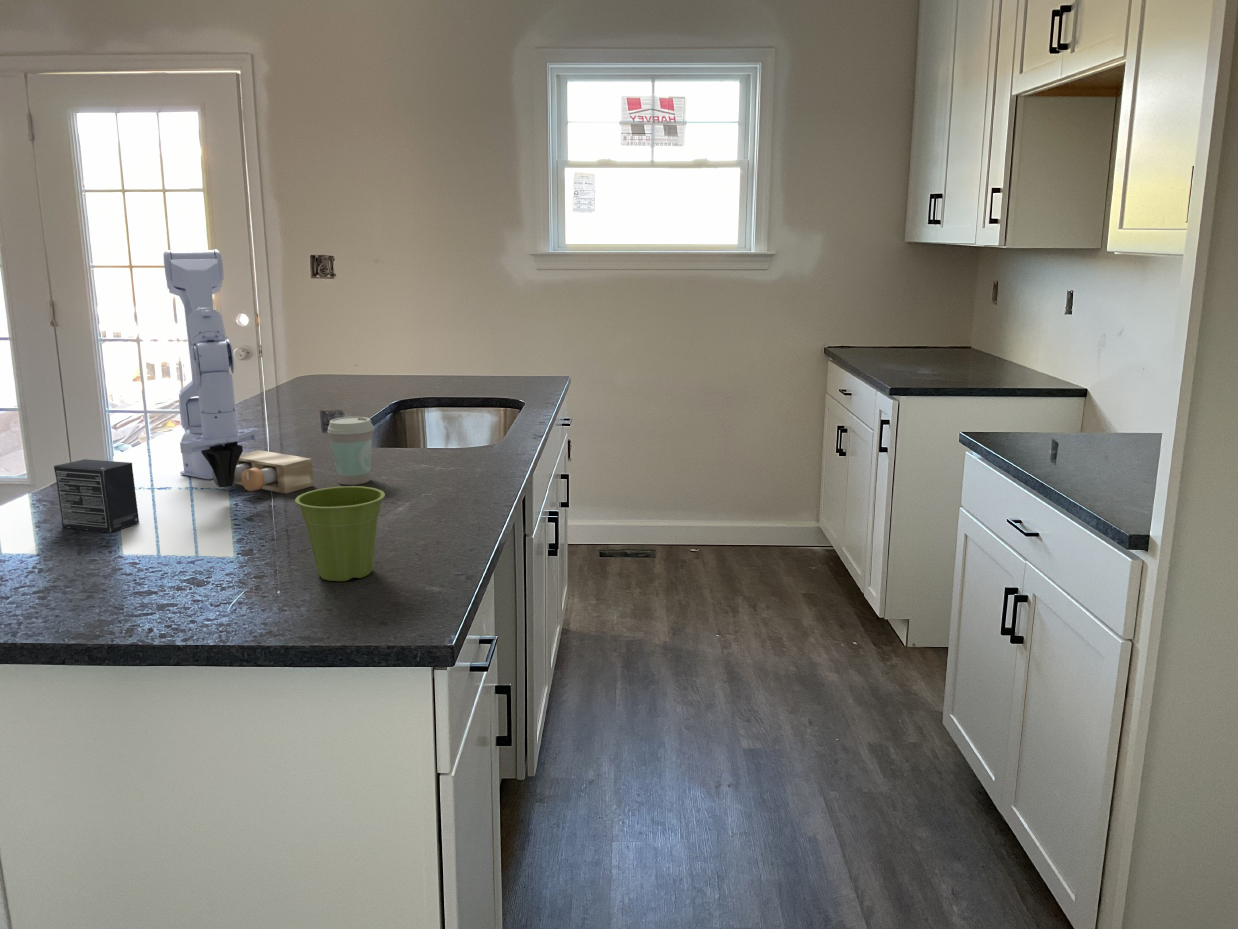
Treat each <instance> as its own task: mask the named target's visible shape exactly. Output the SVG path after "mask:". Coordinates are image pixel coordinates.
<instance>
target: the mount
mask: <svg viewBox="0 0 1238 929" xmlns="http://www.w3.org/2000/svg"><path fill="white" fill-rule="evenodd" d="M312 461H313V460H312V458H311V457H310V458H309V457H304V456H299V455H298V456H297V455H292V454H285V453H279V452H273V451H272V452H271V451H266V450H260V449H258V450H254V451H250V452H246V453H245V452H244V453H241V455H240V457H239V460H238V462H237V465H239V464H244V463H248V462H250V463H252V468H258V469H259V470H261V469H265V468H269V467H273V466H274V467H276V469H277V480H278V481H276V482H272V483H268V484H264V485H263V487H262V488H261V489H262V490H266V491H270V492H276V493H281V494H289V493H293V492H296V491H299V490H304V489H308V488H312V487H314V473H313V472H314V471H313V462H312ZM235 484H236V485H240V486H243V484H242V479H241V480H237V481H234V483H233V485H235ZM261 489H260V490H261Z"/></svg>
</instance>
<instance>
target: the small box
mask: <svg viewBox="0 0 1238 929" xmlns="http://www.w3.org/2000/svg"><path fill="white" fill-rule="evenodd" d="M53 469H54V475H55V479H56V485H57V488H56V489H57V494H58V502H59V509H60V515H61V516H60V517H61V518H60V519H61V526H62V528H63V527H70V528H69V529H71V528H79V529H78V530H81V529H88V530H87V531H90V530H95V531H94V532H99V531H104V532H103V533H108V532H110V533H113V532H116V531H118V530H121V528H122V529H124V527H125V528H128V527H130V525H131V526H134V525H136V524H139V523H140V519H139V512H138V511H139V510H138V504H137V502H138V501H137V494H136V488H135V486H136V485H135V479H134V477H135V476H134V470H133V462H128V461H127V462H126V461H125V462H124V461H114V460H113V461H112V460H111V461H110V460H101V459H100V460H99V459H87V458H86V459H81V460H74V461H71V462H67V463H62V464H56V465H54V466H53ZM127 526H128V527H127Z"/></svg>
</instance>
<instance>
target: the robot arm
mask: <svg viewBox="0 0 1238 929" xmlns="http://www.w3.org/2000/svg"><path fill="white" fill-rule="evenodd" d="M163 266H164V273H165V274H164V275H165V280H166V287H167V290H169V294H172V295H174V296H178V297H179V299H180V301H181V302H182V304H183V306H184V307H183V308H184V315H185V316H184V318H185V327H186V335H187V343H188V344H187V345H188V352H189V360H190V371H191V379H192V380H191V381H190V382H188V384H186V385H185V386H184V387H182V388H181V389H180V391H179V394H178V398H179V399H178V400H179V401H178V407H179V415H180V421H181V428H182V429H184V430H185V432H184V433H183V435H182V437H181V441H180V442H179V446H180V453H181V455H182V456H181V457H182V464H183V470H182V471H180V475H185V476H189V477H194V478H200V479H204V480H213V476H212V472H214V474H215V476H216V479H217V481H218V484H219V486H220V487H219V488H221V487H222V488H231V487H233V485H234V483H233V479H234V473H235V469H236V465H237V462H238V460H239V457H240V455H241V454H243V451H244V449H243V448H244V447H243V445H240V443H244V442H249V441H259V440H260V439H261V438H260V429H259V428H253V427H251V428H244V429H238V421H237V412H236V401H235V391H234V380H233V374H234V373H235V372H234V370H235V356H234V351H233V349H234V348H233V346H232V343H231V342H230V339H229V336H227V335H226V334H227V333H226V331H225V325H224V320H223V316H222V314H221V313H220V312H219V311H218V310H216V309H215V308H214V299H213V295H214V294H218V293H219V292H221V288H222V287H223V282H224V278H225V277H224V264H223V257H222V253H221V252H220V251H219V250H218V248H217V249H216V248H215V249H209V250H208V249H207V250H206V249H205V250H204V249H203V250H170V249H166V250H165V251H164V252H163ZM230 371H231V373H230Z"/></svg>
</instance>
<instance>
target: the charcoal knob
mask: <svg viewBox="0 0 1238 929" xmlns="http://www.w3.org/2000/svg"><path fill="white" fill-rule="evenodd" d="M251 468H252V463H250V462H248V463H244V464H239V465H236V469H235V473H234V479H233V484H234V481H237V480H241V476H242V473H243V471H244V470H247V469H251ZM212 476H213V479H212V480H213V482H214V484H215V485H216V486H217V487H218V488H223V487H220V486H219V484H218V481H217V479H216V476H215V474H214V472H212Z"/></svg>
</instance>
